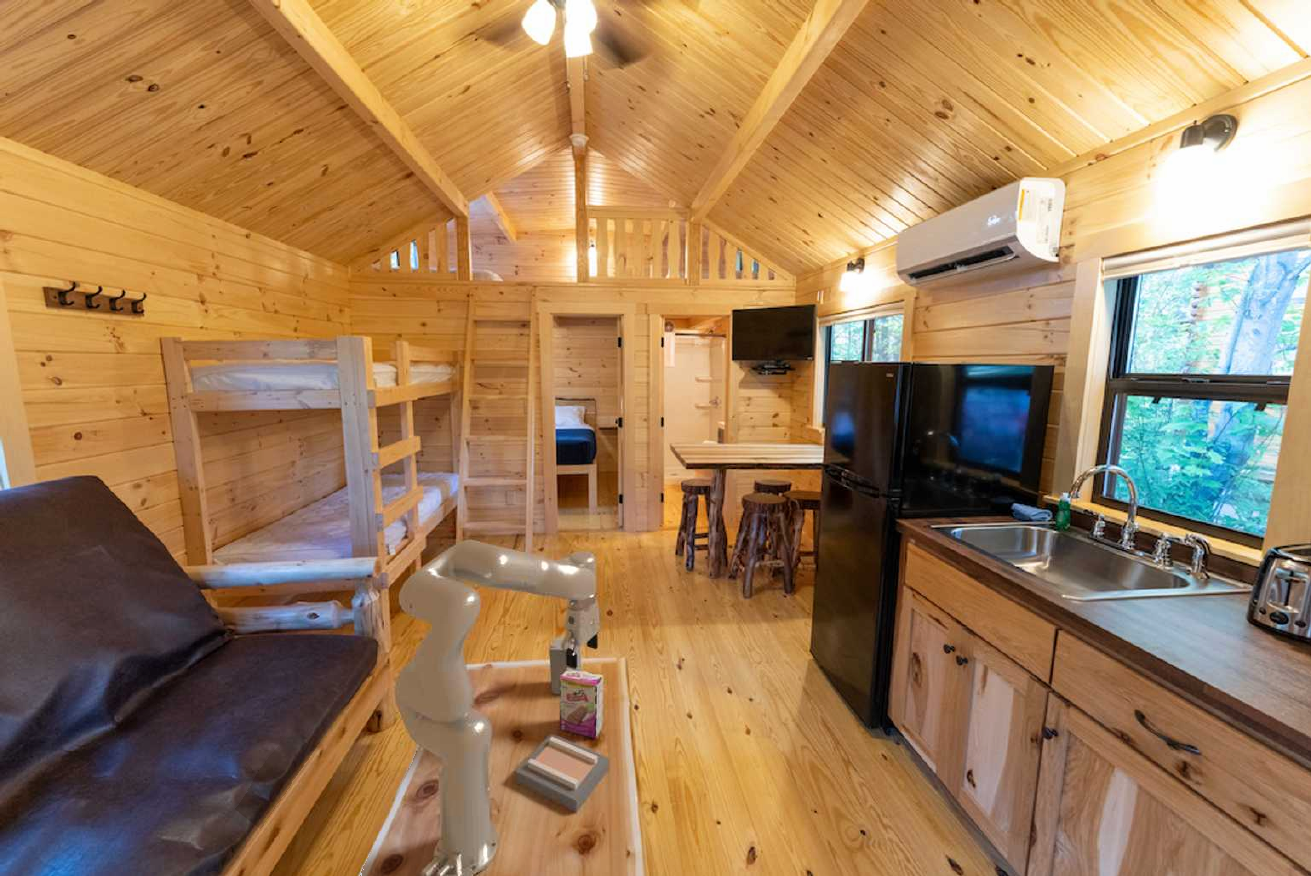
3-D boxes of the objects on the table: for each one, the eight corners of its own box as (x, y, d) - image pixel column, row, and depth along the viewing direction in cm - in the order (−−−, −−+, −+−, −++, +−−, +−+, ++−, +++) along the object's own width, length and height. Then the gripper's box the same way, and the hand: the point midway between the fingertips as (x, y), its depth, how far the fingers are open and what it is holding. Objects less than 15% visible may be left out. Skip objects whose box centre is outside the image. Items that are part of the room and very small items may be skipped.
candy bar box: (558, 731, 139) (558, 677, 137) (566, 719, 144) (566, 666, 142) (596, 740, 136) (596, 685, 134) (603, 727, 141) (603, 674, 139)
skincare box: (582, 683, 160) (582, 636, 158) (576, 697, 153) (576, 649, 151) (556, 680, 161) (555, 634, 158) (549, 695, 154) (548, 647, 151)
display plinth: (576, 812, 115) (576, 795, 114) (515, 781, 123) (514, 765, 122) (609, 768, 127) (609, 752, 126) (551, 743, 135) (551, 728, 134)
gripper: (574, 616, 125) (575, 679, 128) (610, 588, 140) (610, 644, 143) (549, 609, 128) (551, 670, 131) (588, 582, 144) (588, 637, 147)
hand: (582, 656), depth 137 cm, fingers open, 9 cm apart
